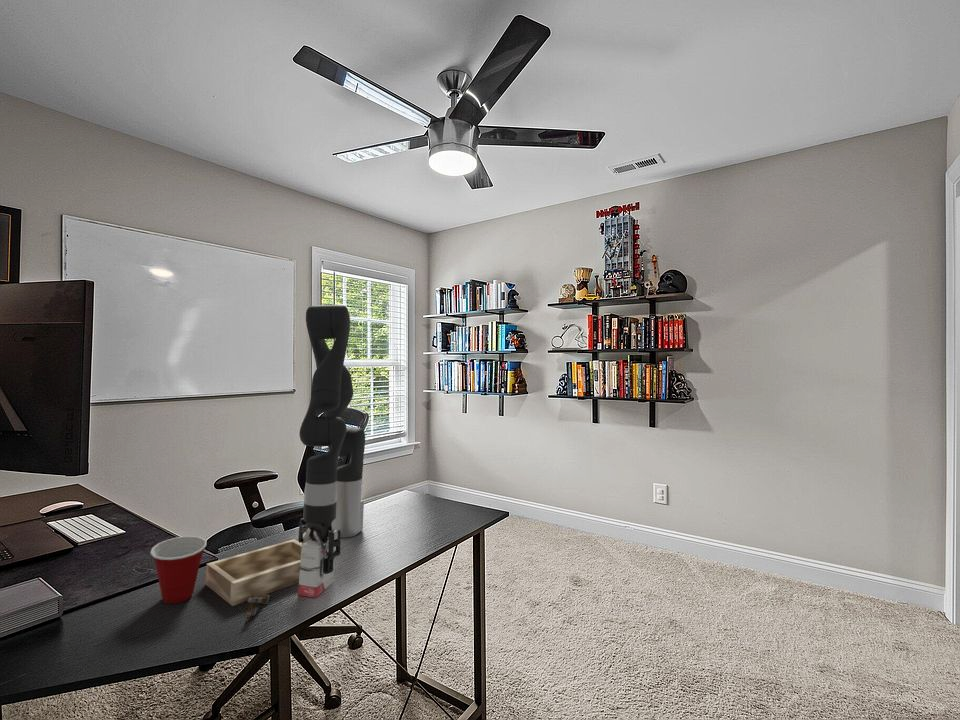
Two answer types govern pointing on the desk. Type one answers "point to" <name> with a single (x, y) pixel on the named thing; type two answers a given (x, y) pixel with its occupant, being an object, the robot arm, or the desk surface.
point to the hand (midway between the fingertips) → (317, 567)
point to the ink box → (313, 570)
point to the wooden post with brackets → (253, 599)
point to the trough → (255, 572)
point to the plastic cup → (178, 566)
